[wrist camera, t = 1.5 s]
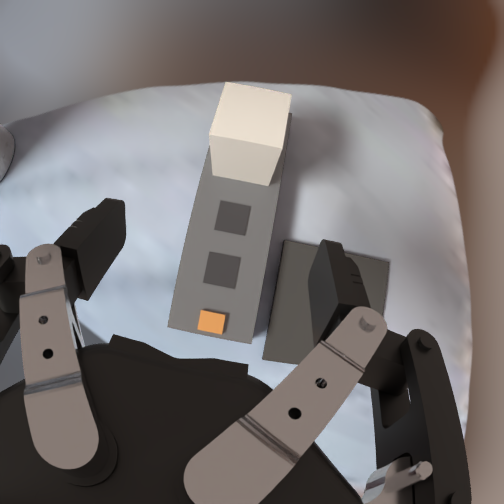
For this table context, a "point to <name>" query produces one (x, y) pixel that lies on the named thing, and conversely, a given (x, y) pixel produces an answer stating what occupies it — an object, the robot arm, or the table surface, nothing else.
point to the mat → (298, 305)
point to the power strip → (225, 254)
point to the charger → (248, 133)
